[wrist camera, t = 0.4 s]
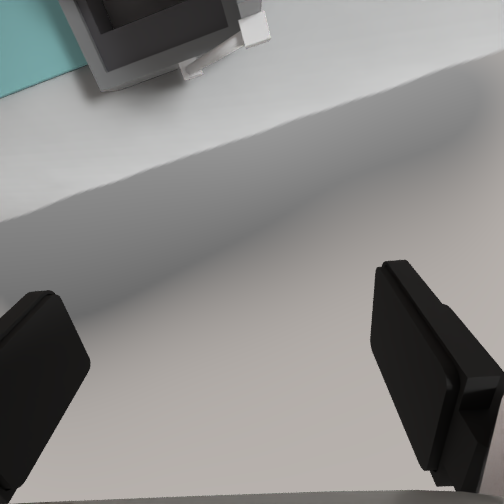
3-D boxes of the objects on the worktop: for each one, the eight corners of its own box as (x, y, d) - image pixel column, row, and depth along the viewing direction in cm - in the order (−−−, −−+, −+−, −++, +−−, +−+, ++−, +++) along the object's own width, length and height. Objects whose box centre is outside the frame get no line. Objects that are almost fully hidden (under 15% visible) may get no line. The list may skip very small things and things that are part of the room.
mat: (-91, -42, 29) (-98, -44, 29) (23, -97, 27) (18, -101, 27) (-5, 100, 34) (-9, 100, 34) (95, 61, 33) (93, 61, 32)
